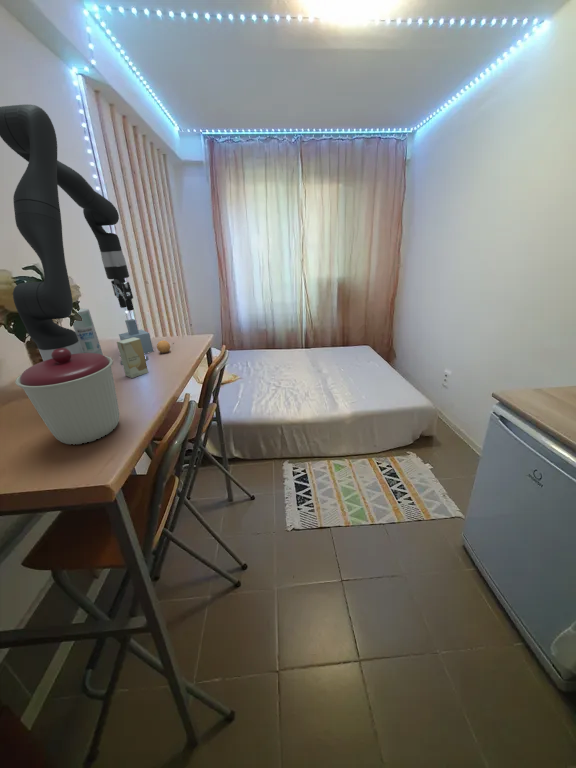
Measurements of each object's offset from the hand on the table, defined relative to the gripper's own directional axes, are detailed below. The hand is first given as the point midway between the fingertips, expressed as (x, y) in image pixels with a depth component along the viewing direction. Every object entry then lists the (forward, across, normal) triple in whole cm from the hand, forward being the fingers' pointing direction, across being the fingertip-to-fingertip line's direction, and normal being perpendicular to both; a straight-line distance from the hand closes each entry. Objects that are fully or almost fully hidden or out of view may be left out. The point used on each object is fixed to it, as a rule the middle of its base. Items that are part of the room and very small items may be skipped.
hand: (127, 308), depth 123 cm
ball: (+15, +10, +7) cm, 20 cm away
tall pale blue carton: (+18, -1, -16) cm, 24 cm away
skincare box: (+18, +25, -9) cm, 32 cm away
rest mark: (+18, +10, -5) cm, 21 cm away
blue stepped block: (+18, 0, 0) cm, 18 cm away
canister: (+18, +54, -30) cm, 64 cm away
